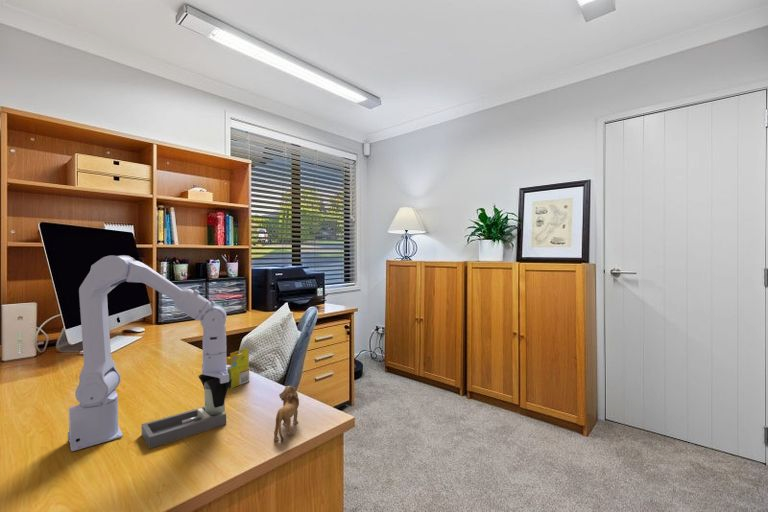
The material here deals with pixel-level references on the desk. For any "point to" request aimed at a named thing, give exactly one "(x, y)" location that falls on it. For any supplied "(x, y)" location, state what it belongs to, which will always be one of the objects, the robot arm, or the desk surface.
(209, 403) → the jar
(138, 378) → the desk surface
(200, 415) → the pusher
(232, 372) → the crayon box
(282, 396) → the lion figurine
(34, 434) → the desk surface
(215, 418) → the pusher lane
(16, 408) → the desk surface
